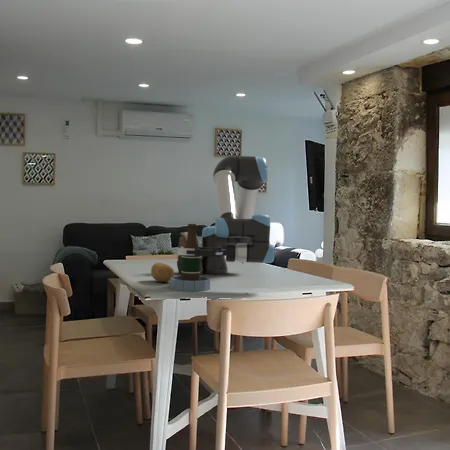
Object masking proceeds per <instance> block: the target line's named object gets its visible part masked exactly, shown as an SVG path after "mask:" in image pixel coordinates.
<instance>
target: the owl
mask: <svg viewBox="0 0 450 450" xmlns="http://www.w3.org/2000/svg"><path fill="white" fill-rule="evenodd" d="M179 234H180V236H179V238H178V243H177V244H178V247H177V249H178V248H180V247H184V246H185V245H186V243H187V235H188V231H184V232H183V231H182V232H180V233H179ZM196 241H197V245H198V247H200V246H199V240H198V234H197V233H196ZM177 255H178V254H177ZM181 262H182V255H178V256H177V260H176V266H177V270H178V276H181ZM202 272H203V269H202V262H201V265H200V276H204V275H203V274H204V273H202Z"/></svg>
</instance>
